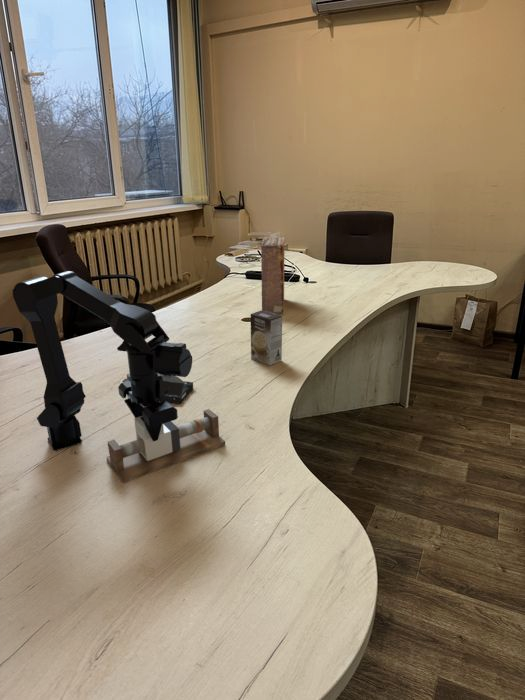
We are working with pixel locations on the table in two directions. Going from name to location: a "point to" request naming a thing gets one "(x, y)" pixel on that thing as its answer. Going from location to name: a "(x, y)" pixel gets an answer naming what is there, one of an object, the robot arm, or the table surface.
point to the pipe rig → (192, 443)
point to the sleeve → (153, 447)
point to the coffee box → (266, 337)
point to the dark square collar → (174, 435)
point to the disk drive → (178, 399)
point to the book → (272, 274)
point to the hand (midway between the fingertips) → (150, 434)
